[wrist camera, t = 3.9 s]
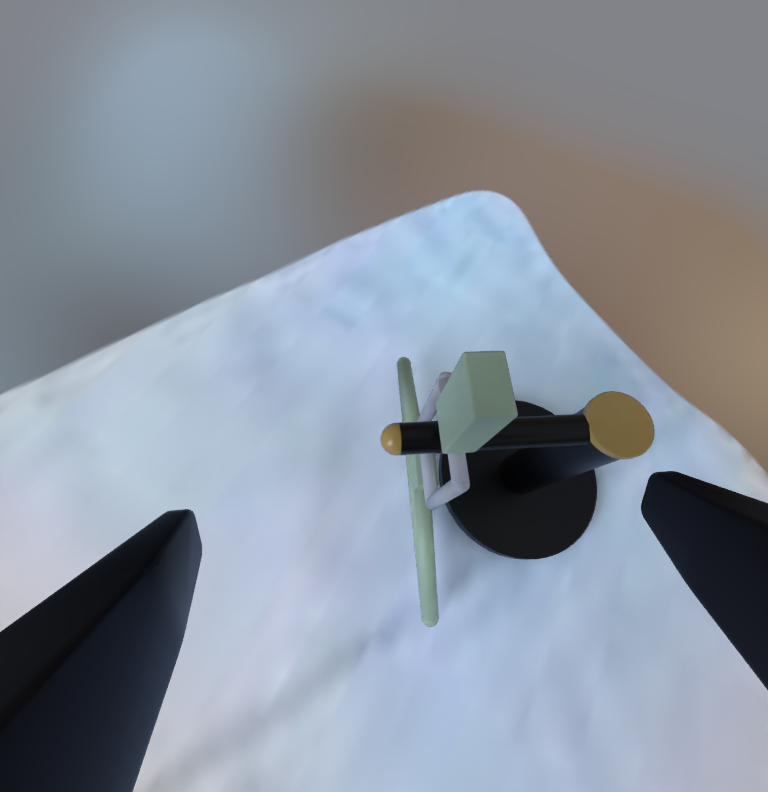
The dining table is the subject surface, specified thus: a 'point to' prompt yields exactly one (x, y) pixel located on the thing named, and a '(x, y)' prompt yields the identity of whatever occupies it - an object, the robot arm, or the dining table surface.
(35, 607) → the robot arm
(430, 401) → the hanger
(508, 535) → the black holder stand
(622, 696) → the dining table surface
